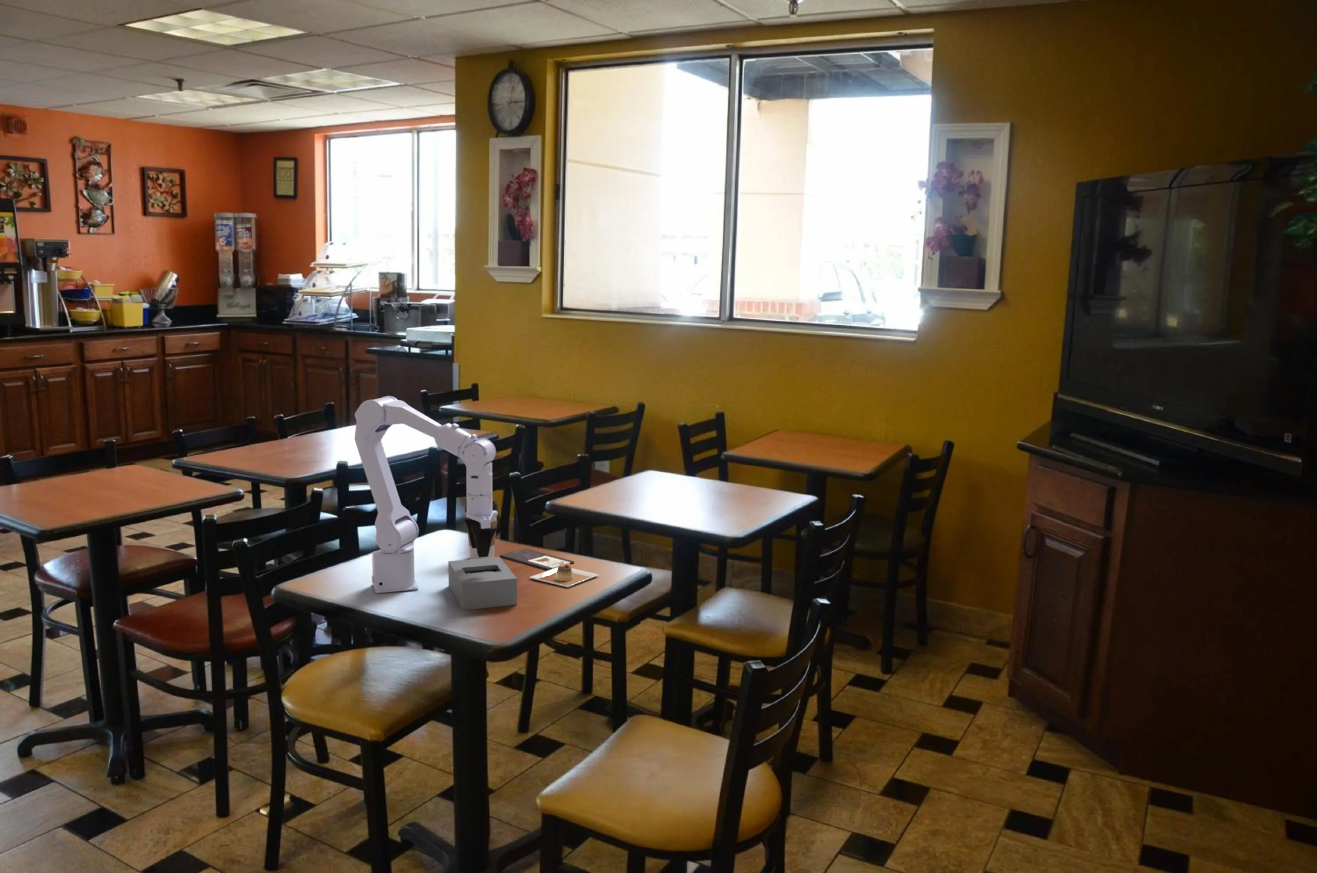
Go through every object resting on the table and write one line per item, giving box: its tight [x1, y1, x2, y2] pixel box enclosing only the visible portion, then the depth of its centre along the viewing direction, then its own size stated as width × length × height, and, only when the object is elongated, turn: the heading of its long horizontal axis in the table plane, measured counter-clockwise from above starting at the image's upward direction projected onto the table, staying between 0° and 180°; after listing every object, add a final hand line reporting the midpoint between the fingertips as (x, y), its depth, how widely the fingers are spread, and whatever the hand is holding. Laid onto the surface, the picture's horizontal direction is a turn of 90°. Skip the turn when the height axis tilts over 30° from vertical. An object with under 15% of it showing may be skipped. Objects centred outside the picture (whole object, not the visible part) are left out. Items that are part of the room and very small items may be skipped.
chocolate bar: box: [499, 548, 575, 571], centre depth 252 cm, size 9×1×18 cm
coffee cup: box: [464, 500, 499, 559], centre depth 251 cm, size 8×8×15 cm
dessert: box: [529, 561, 600, 589], centre depth 237 cm, size 12×12×5 cm
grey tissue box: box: [447, 556, 518, 611], centre depth 222 cm, size 12×18×6 cm, turn 21°
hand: (479, 552), depth 222 cm, fingers open, 7 cm apart
